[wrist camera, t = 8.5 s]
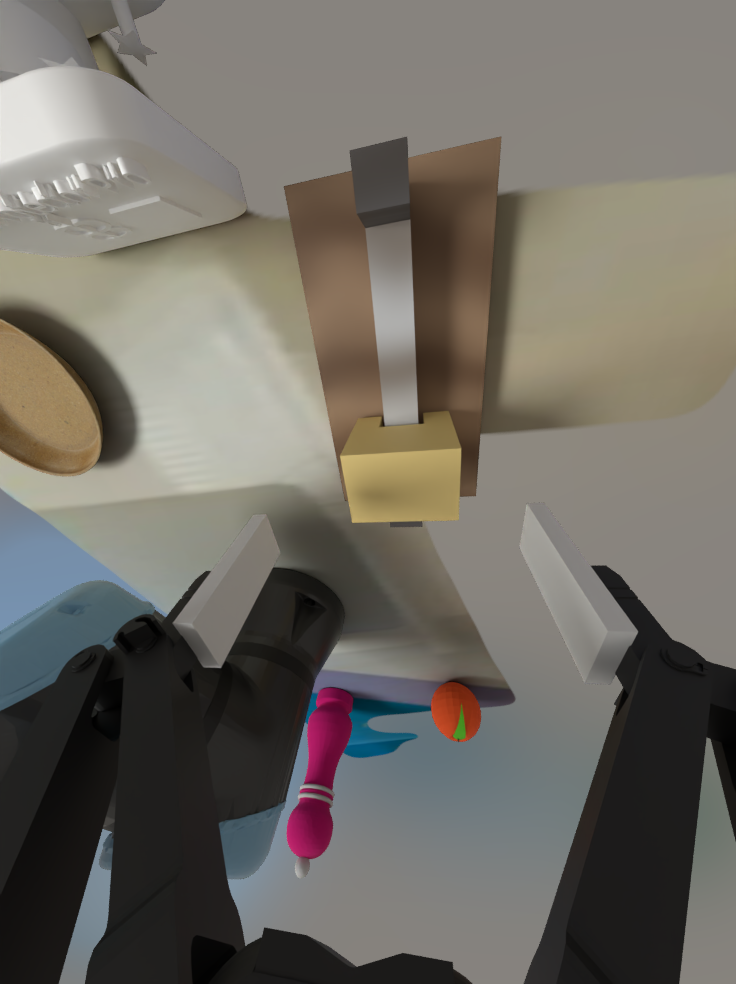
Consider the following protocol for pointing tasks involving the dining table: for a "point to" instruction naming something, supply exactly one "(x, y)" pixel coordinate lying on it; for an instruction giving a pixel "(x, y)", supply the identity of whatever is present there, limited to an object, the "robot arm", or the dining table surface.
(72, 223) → the cable organizer
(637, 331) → the dining table surface
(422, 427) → the slider
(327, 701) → the pepper mill
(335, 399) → the rail board
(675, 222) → the dining table surface
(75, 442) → the plant saucer
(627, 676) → the robot arm
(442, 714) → the clementine
